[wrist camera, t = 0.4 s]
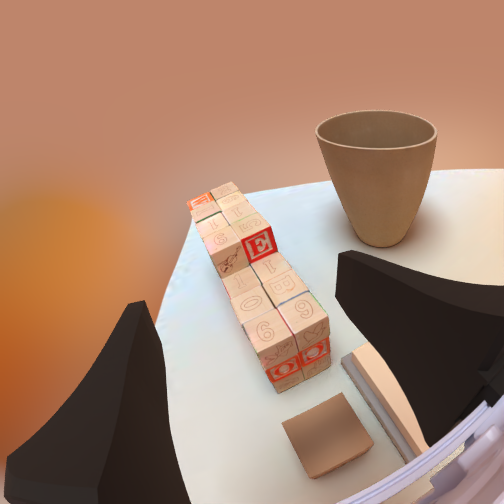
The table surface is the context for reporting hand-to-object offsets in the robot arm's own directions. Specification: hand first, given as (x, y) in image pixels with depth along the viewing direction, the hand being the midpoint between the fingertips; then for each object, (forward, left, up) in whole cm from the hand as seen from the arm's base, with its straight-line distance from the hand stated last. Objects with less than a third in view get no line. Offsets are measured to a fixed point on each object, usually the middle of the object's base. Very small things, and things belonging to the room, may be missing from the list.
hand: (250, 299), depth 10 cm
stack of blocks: (+15, -2, -20) cm, 25 cm away
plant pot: (+18, -22, -20) cm, 34 cm away
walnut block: (-3, -1, -20) cm, 20 cm away
